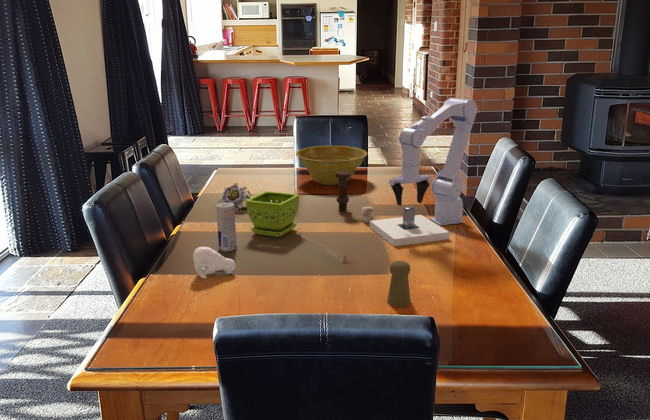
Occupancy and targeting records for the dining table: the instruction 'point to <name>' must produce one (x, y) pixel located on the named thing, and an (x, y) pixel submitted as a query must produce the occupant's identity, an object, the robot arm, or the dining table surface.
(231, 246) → the beverage can
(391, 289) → the pepper shaker
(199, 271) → the white rounded lumpy piece
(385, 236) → the hole plate
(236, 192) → the passion flower
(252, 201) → the flower pot
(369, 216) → the short pin
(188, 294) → the dining table surface
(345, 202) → the bolt
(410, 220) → the long pin
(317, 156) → the planter bowl
